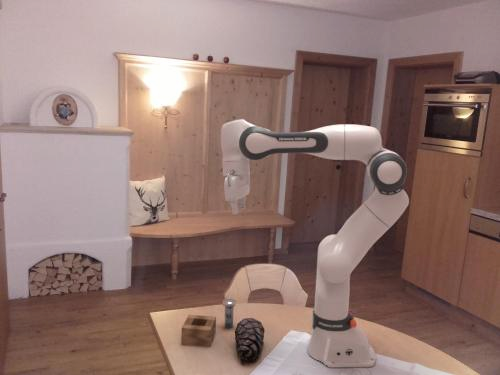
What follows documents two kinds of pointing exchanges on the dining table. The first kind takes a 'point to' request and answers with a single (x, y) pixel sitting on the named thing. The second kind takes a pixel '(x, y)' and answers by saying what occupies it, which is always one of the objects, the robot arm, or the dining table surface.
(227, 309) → the pin
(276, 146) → the robot arm
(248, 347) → the pine cone
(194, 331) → the socket block
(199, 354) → the dining table surface
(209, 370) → the dining table surface
